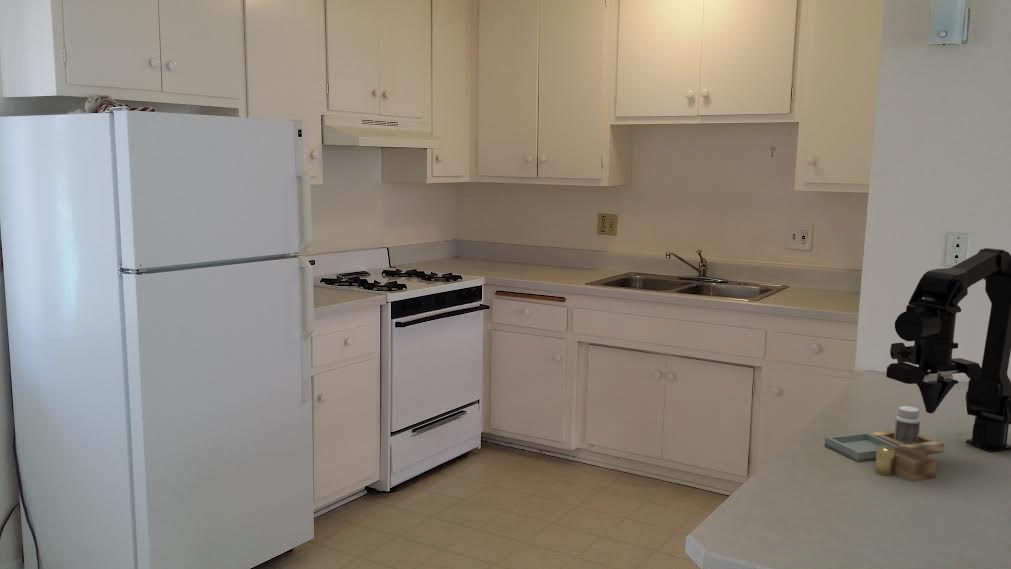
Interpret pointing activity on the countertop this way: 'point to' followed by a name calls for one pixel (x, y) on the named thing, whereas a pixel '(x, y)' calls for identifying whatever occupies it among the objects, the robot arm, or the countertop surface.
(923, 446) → the socket collar
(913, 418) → the pill bottle
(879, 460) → the bench dog
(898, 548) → the countertop surface
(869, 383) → the countertop surface
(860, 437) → the tray
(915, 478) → the brown cardboard box
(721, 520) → the countertop surface
